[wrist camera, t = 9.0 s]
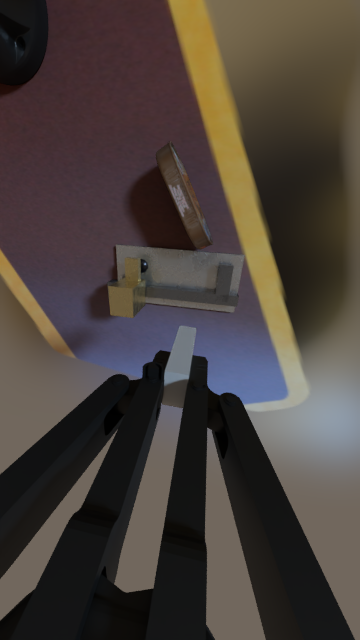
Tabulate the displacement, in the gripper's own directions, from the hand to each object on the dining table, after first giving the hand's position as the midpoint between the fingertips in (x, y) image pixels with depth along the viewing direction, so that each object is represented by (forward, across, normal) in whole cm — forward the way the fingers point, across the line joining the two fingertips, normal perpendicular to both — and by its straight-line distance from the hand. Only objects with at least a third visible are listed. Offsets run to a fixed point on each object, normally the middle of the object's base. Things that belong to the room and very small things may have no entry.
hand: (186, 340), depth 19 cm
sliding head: (+23, -12, -1) cm, 26 cm away
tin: (+24, -4, +13) cm, 28 cm away
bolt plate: (+24, -5, 0) cm, 24 cm away
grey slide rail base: (+23, -5, 0) cm, 23 cm away
